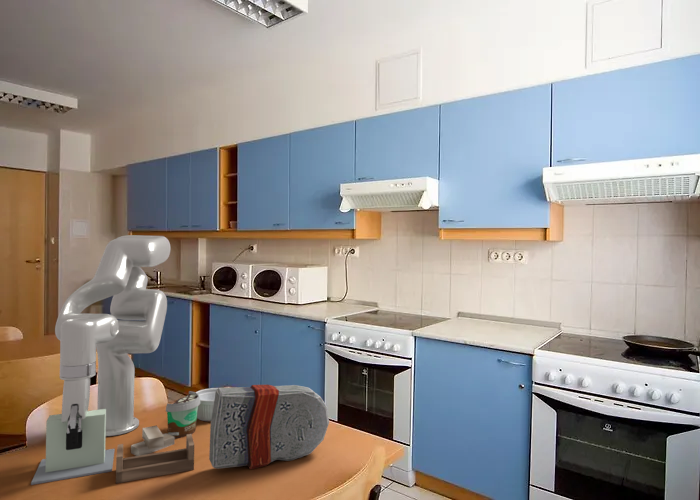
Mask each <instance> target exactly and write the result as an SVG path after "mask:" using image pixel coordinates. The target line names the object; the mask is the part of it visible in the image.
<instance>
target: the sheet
mask: <svg viewBox="0 0 700 500" xmlns="http://www.w3.org/2000/svg"><path fill="white" fill-rule="evenodd" d="M61 417H62V413H60V414H59V413H58V414H57V413H56V414H50V415H48V418H47V420H46V427H45V429H46V431H45V434H46V435H45V459H46V471H45V472H52V471H58V470H64V469H70V468H77V467H83V466H89V465H96V464H102V463H104V460H105V450H106V437H107V436H106V409H100V410H97V409H93V410H88V411H87V415H86V417H85V419H84V420H82V425H81V430H82V447H81V448H79V449H72V450H66V432H67V425H68V420H67V421H65V423H63V422H61ZM77 418H80V417H77ZM76 423H78V424H79V422H76Z"/></svg>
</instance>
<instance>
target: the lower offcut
mask: <svg viewBox="0 0 700 500" xmlns="http://www.w3.org/2000/svg"><path fill="white" fill-rule="evenodd" d="M162 434H163V436H164V446H160V447H156V448H151V449H148V447H147V445H146V443H145V441H144V440H143V441H139V442H137V443H134V444H131V445H130V454H132V455H134V456H140V455H147V454H153V453H156V452H157V451H160V450H163V449H166V448H168V447H171V446H173V445H175V439H176V438H175V437H174V436H172V435H169V434H168V432H167V433H162Z"/></svg>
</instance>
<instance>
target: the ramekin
mask: <svg viewBox="0 0 700 500" xmlns="http://www.w3.org/2000/svg"><path fill="white" fill-rule="evenodd" d="M218 388H219V387H211V388H205V389H200V390H198V391H196V392H195V393H197V394H198V395H199V397H200V402H201V403H200V404H199V405H198V410H197V420H199V421H204V422H211V419H212V412H213V406H214V399H215V393H216V390H217V389H218Z"/></svg>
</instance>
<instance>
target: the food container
mask: <svg viewBox="0 0 700 500" xmlns="http://www.w3.org/2000/svg"><path fill="white" fill-rule="evenodd" d="M200 403H201V402H200V397H199V395H198V394H197V393H196V392H195V391H190V390H189V391H188V394H187V395H185V396H183V397H180V398H178V399H177V400H176V401H174V402H173V403H166V406H165V412H166V414H167V418H166V419H167V434H169V435H172V436H174V437H175V439H181V438H186V435H187V434H192V435H193V434H194V433H195V432H196V428H197V420H198V418H197V410H198V405H199V404H200Z"/></svg>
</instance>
